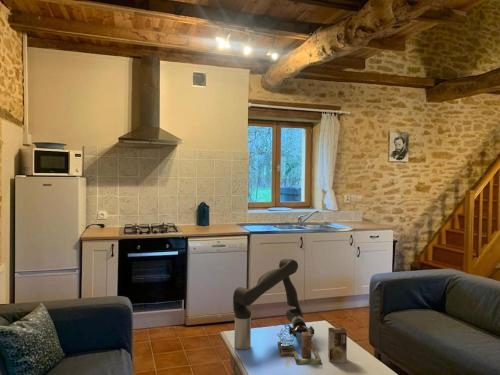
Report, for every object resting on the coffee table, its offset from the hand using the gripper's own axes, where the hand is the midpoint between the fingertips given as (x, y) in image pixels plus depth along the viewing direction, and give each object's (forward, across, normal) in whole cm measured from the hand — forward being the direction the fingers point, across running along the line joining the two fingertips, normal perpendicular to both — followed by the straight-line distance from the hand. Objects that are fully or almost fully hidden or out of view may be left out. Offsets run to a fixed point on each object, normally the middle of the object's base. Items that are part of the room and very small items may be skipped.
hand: (303, 335), depth 206 cm
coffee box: (+11, +16, +9) cm, 21 cm away
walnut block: (+8, 0, +8) cm, 12 cm away
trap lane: (+3, -4, +8) cm, 10 cm away
